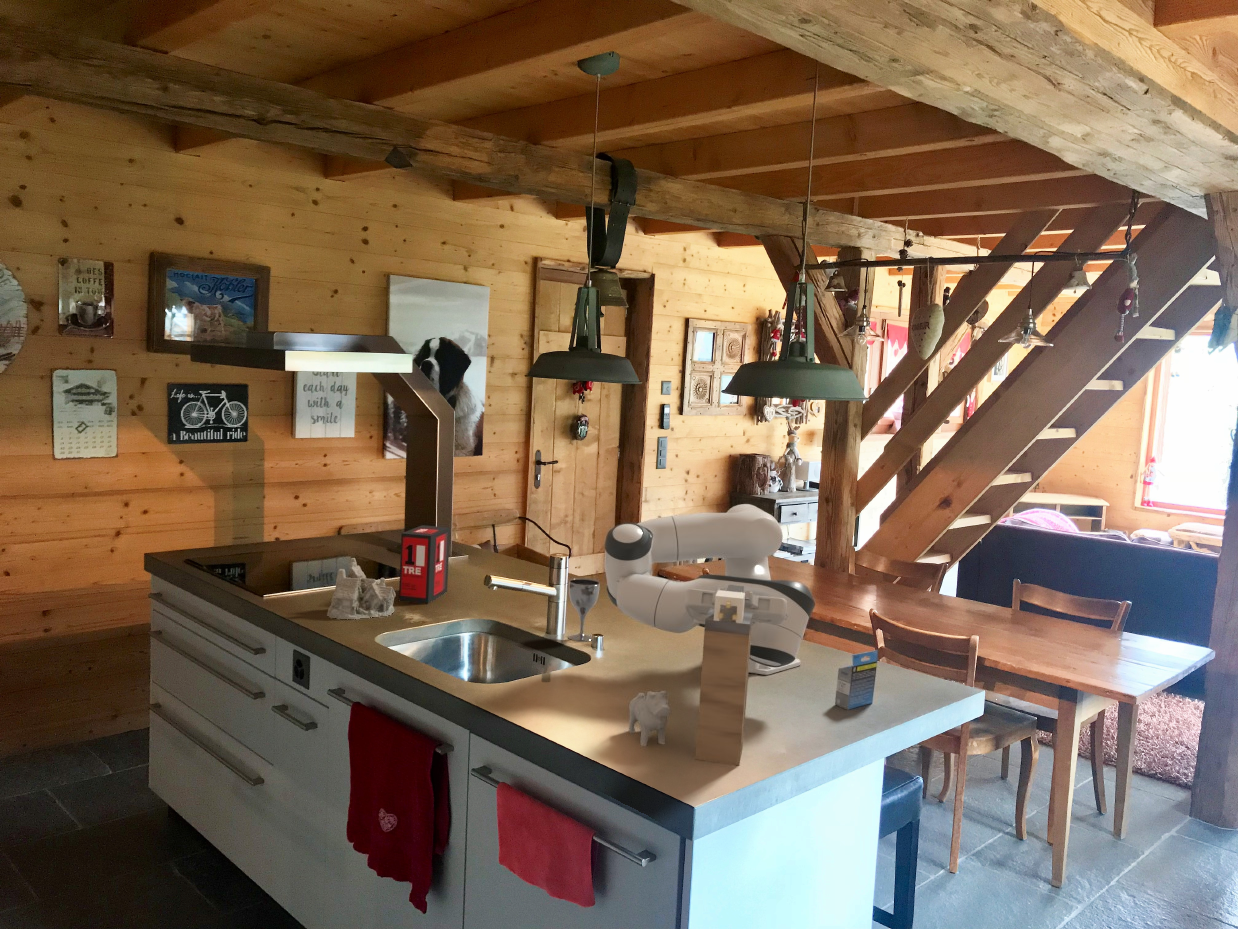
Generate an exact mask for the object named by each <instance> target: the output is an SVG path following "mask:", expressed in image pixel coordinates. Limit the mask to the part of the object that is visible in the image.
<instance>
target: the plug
mask: <svg viewBox="0 0 1238 929" xmlns="http://www.w3.org/2000/svg"><path fill="white" fill-rule="evenodd" d="M743 592H744V586H737V585H728V587H727V590H726V591H722V590H718V591H717V593H716V596H715V608H714V620H715V621H724V622H733V623H742V620H743V616H744V603H745V593H743Z"/></svg>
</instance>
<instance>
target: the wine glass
mask: <svg viewBox="0 0 1238 929" xmlns="http://www.w3.org/2000/svg"><path fill="white" fill-rule="evenodd" d="M568 582H569V583H568V595H569V600H570V603H571V605H572V606H573V607H574V609H575V610H576V612H577V613H578V615H579V621H580V622H579V625H580V629H579V633H575V634H574V633H573V634H569V635H567V639H568V638H569V639H568V640H570V639H572V640H571V641H573V640H574V642H580V641H581V643H582V642H583V643H584V642H586V641H587V642H592V641H591V639H592V636H593V635H589V634H586V633H585V632H584V625H585V624H584V623H585V619H586V616H587V614H588V613H589V611H591V609H592V608H593V607H595V605H596V604H597V602H598V598H599V595H600V594H599V592H600V588H601V587H600V585H601V583H600V581H599V580H597V579H593V578H584V577H582V578H581V577H580V578H579V577H577V578H571V579H569V581H568Z"/></svg>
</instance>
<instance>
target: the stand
mask: <svg viewBox="0 0 1238 929" xmlns="http://www.w3.org/2000/svg"><path fill="white" fill-rule="evenodd" d="M752 618H753V613H749V612H744V616H743V620H742V623H733V622H724V621H715V620H714V609H712V608H710V610H709V612H708V615H707V617H706V619H705V628H704V632H703V648H702V660H701V675H700V689H699V690H700V691H699V704H698V715H697V716H698V718H697V728H696V729H697V731H696V732H697V734H696V743H695V744H696V747H695V759H694V760H695V761H696V760H697V761H698V760H699V761H705V762H710V763H711V762H712V763H720V764H727V765H734V766H740V765H741V760H742V753H743V748H744V747H743V746H744V739H745V738H744V737H745V736H744V735H745V725H746V724H745V722H746V711H747V710H746V709H747V696H748V685H749V684H748V683H749V673H750V672H749V658H750V645H751V632H752Z"/></svg>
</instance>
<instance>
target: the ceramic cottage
mask: <svg viewBox="0 0 1238 929" xmlns="http://www.w3.org/2000/svg"><path fill="white" fill-rule="evenodd" d="M395 597H396V592H395V589H394V588H393V587H392V586H386V579H385V578H384V577H381V578H380V579H379V578H378V579H375V578H367V576H366V575H365V573H364V571H362V568H361V566H360V565H358V564H357V560H356V558H355V557H352V558H350V562H349V570H348V573H346V569H345V568H340V569H338V572H337V577H336V578H335V589H334V593H333V594H332V597H331V603H330V606H329V607H328V608H327V614H326V617H327V616H329V617H332V618H337V619H336V620H340V619H347V620H348V619H354V620H355V619H356V620H361V619H360V618H369V619H373V618H372V617H379V618H381V617H380V616H387V617H389V616H388V615H390V616H392V613H393V612H394V611H395V606H394V601H395ZM393 614H394V613H393ZM329 617H328V618H329ZM370 617H371V618H370ZM332 618H331V619H332Z"/></svg>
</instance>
